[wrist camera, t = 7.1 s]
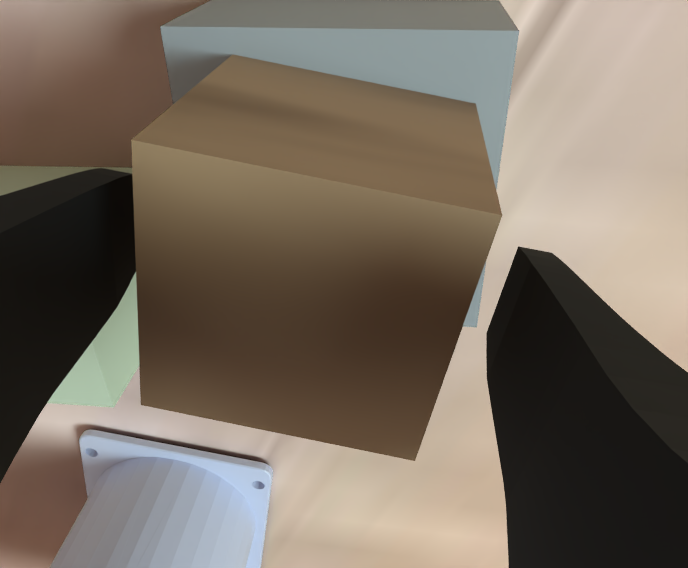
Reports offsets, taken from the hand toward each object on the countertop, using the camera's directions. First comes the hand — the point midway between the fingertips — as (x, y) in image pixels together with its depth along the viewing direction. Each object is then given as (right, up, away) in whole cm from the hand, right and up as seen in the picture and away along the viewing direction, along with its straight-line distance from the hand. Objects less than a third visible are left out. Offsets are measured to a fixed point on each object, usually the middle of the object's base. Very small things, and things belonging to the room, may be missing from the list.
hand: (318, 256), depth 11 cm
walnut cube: (0, +2, +2) cm, 3 cm away
